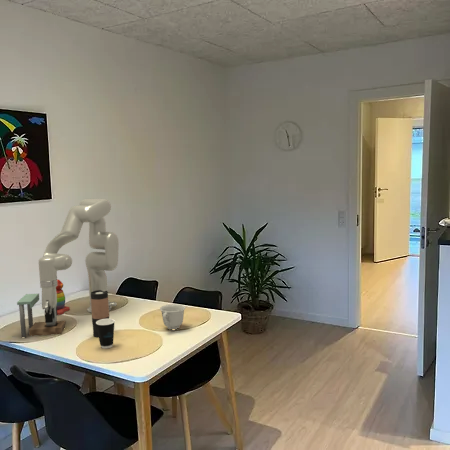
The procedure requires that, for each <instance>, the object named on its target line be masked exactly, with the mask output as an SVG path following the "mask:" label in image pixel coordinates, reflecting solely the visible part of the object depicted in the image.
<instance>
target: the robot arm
mask: <svg viewBox="0 0 450 450" xmlns="http://www.w3.org/2000/svg"><path fill="white" fill-rule="evenodd" d="M111 210H112V205H111V202H110V201H109V200H108V199H106V198H84V199H82V200H80V202H79V205H73V206H71V207H70V208H69V210H68V212H67V215H66V217H65V221H64V223H63V225H62V227H61V230H60V231H59V233H58V234H57V235H55V236H54V237H53V238H52V240H50V242H49V243H47V245H46V247H45V250H44V252H43V256H42V257H40V258H39V259H38V272H39V285H40V288H41V309H42V310H44V322H46V323H50V322H53V317H52V314H51V312H52V309H53V308H54V307H55V305H56V304H57V293H56V287H57V286H58V284H57V279H58V273H57V272H58V271H65V270H68V269H69V268H70V267H71V266H72V264H73V258H72V257H71V255H69V254H65V253H58V252H59V251H60V249H61V248H62V247H63V246H66V245H67V244H69V243H72V242H73V241H75V240H77V239H78V238H79V236H80V233H81V231H82V228H83V225H84V224H85V223H88V225H89V226H88V244H89V247H90V248H91V249H94V250H102V251H91V252H89V253H87V255H86V256H85V260H84V261H85V266H86V270H87V276H88V293H89V307H87V308H86V309H87V310H86V311H87V312H88V313H91V314H92V309H91V292H93V291H96V290H102V291H109V290H108V276H107V273H106V272H107V271H109V272H110V271H114V270H116V268H117V267H118V264H119V243H120V242H119V237H118V235H117V234H116V233H115V232H113V231H107V225H106V223H107V222H106V219H105V217H106V216H107V215H109V214H110V212H111ZM103 250H104V251H103ZM108 304H109V311H111V310H112V307H117V306H118V305H117V302H115V301H110V299H108ZM48 309H50V311H49V310H48ZM56 314H57V305H56Z"/></svg>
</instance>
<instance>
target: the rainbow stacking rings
mask: <svg viewBox="0 0 450 450" xmlns="http://www.w3.org/2000/svg"><path fill="white" fill-rule="evenodd" d="M57 284H58V286H57V287H56V293H57V304H56V305H57V316H61V315H63V314H64V313H65V312H68V311H70V310H71V308H70V306H67V305H66V296H65V292H64V290H63V288H64V282H62V281H61V280H60V279H58V278H57Z"/></svg>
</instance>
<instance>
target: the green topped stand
mask: <svg viewBox="0 0 450 450" xmlns="http://www.w3.org/2000/svg"><path fill="white" fill-rule="evenodd" d="M39 301H40V293H26V294H25V295H23V296H22V297H21V298H20V299H19V300H18V301H17V302H16V305H17V306H18V311H19V319H20V320H19V321H20V333H21V336H20V337H21V338H22V337H25V338H27V330H26V317H25V316H26V315H25V313H26V312H25V305H26V306H27V307H26V308H27V321H28V322H27V323H28V330H29V329H30V328H31V327H32V326H33V324H34V318H33V307H34V306H35V305H36V304H37V303H38V302H39Z"/></svg>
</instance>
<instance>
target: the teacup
mask: <svg viewBox="0 0 450 450" xmlns="http://www.w3.org/2000/svg"><path fill="white" fill-rule="evenodd" d="M159 310H160V311H161V317H162V322H163V325H164V326H165V327H167V328H168V329H177V328H179V329H180V326H181V325H182V324H183V322H184V314H185V310H186V306H185V305H183V304H179V303H172V304H171V303H170V304H166V305H162V306H161V307H159ZM167 328H166V329H167ZM168 329H167V330H168ZM177 330H178V329H177Z"/></svg>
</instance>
